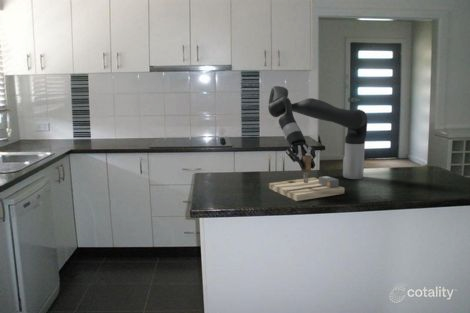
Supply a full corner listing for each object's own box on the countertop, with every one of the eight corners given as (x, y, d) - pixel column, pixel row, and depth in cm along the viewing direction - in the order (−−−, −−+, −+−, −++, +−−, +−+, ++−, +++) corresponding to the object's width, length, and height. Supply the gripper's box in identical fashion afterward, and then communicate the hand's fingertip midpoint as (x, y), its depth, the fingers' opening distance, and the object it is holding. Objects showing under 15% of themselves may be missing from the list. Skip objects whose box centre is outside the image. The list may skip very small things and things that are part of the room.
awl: (299, 181, 180) (299, 155, 178) (307, 180, 182) (307, 155, 180) (304, 183, 177) (305, 157, 175) (312, 182, 178) (313, 156, 176)
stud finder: (318, 183, 187) (318, 176, 186) (326, 182, 189) (327, 175, 188) (330, 187, 180) (330, 180, 179) (338, 186, 182) (338, 179, 181)
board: (268, 188, 189) (268, 182, 189) (313, 182, 199) (313, 177, 199) (296, 200, 170) (296, 194, 169) (344, 193, 180) (344, 187, 179)
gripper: (303, 139, 191) (319, 171, 182) (276, 141, 185) (290, 174, 176) (310, 129, 185) (327, 161, 177) (282, 131, 179) (298, 164, 171)
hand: (308, 168), depth 176 cm, fingers closed on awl, 4 cm apart
